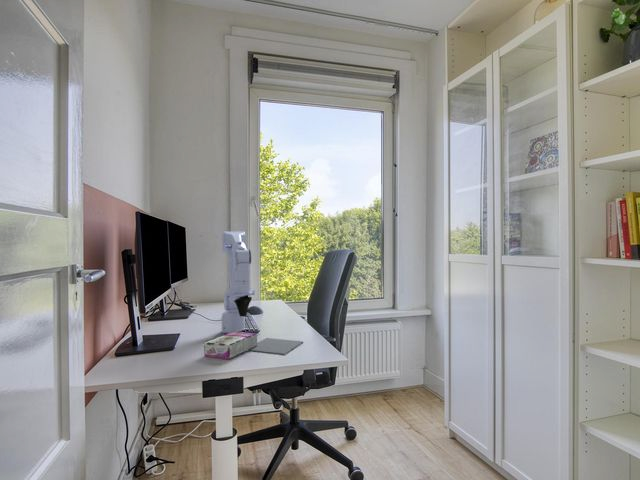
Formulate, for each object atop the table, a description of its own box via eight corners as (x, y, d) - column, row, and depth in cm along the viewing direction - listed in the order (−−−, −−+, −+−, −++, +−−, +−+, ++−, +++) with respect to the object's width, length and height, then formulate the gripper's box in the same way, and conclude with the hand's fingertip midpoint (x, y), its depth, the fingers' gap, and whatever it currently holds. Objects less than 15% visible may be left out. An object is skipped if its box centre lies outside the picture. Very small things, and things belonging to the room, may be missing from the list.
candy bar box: (234, 344, 144) (203, 356, 129) (233, 331, 144) (202, 341, 129) (258, 346, 139) (229, 359, 124) (257, 332, 139) (228, 344, 124)
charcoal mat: (245, 350, 135) (245, 349, 135) (266, 338, 150) (266, 337, 150) (285, 354, 130) (285, 353, 130) (303, 342, 145) (303, 341, 145)
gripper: (241, 283, 136) (241, 320, 136) (261, 279, 150) (261, 313, 150) (224, 282, 139) (225, 319, 139) (245, 278, 152) (246, 311, 152)
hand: (242, 316), depth 145 cm, fingers closed
